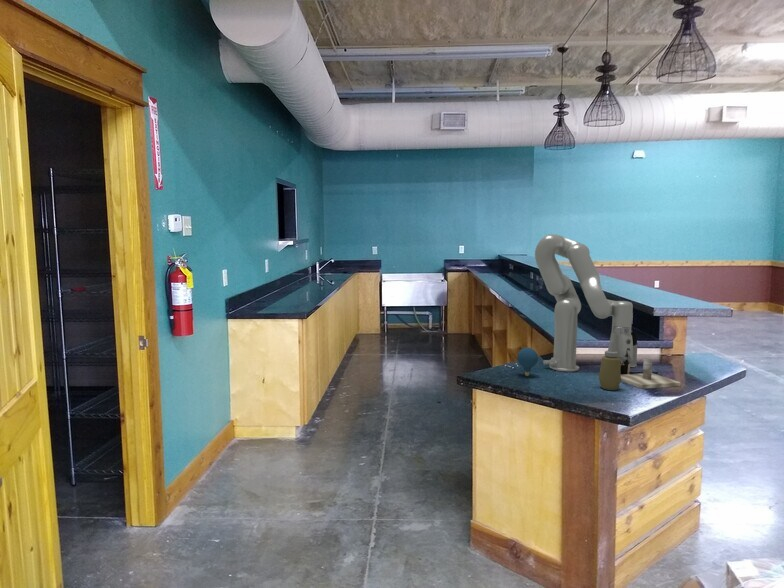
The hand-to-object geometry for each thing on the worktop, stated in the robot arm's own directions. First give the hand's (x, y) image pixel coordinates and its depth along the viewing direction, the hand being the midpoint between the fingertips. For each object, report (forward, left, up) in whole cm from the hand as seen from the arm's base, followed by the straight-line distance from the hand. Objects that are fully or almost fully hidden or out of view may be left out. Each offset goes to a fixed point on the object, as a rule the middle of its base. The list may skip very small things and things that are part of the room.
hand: (618, 371), depth 233 cm
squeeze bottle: (-18, -18, -1) cm, 25 cm away
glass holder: (+13, +13, -1) cm, 19 cm away
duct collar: (0, 0, -1) cm, 1 cm away
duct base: (+3, -13, -1) cm, 14 cm away
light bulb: (-40, +6, -1) cm, 40 cm away
